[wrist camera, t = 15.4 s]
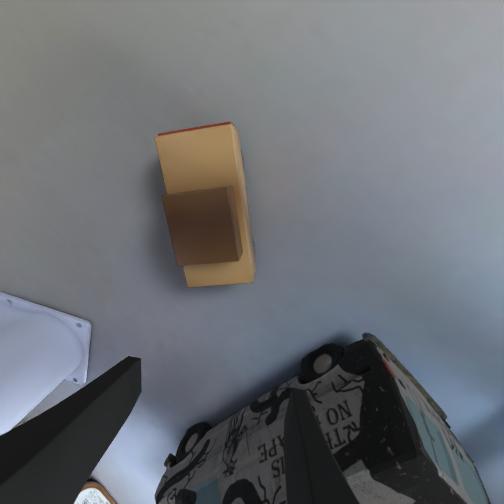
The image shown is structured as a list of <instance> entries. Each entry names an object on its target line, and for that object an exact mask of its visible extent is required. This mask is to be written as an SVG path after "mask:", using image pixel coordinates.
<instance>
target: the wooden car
mask: <svg viewBox="0 0 504 504" xmlns="http://www.w3.org/2000/svg"><path fill="white" fill-rule="evenodd" d="M155 142H156V147H157V151H158V156H159V160H160V165H161V169H162V174H163V178H164V183H165V187H166V192H167V194H166V195H162V201H163V205H164V210H165V214H166V218H167V223H168V227H169V231H170V236H171V240H172V245H173V249H174V253H175V258H176V262H177V266H183V268H184V273H185V277H186V282H187V286H188V287H201V286H216V285H230V284H244V283H253V281H254V277H255V273H256V262H255V249H254V242H253V238H252V232H251V224H250V216H249V209H248V201H247V193H246V186H245V178H244V164H243V156H242V151H241V147H240V140H239V132H238V130H237V129H236V128H235V127H234V125H233V124H232V123H231V122H225V123H219V124H213V125H207V126H201V127H195V128H189V129H183V130H178V131H172V132H166V133H160V134H158V136H156V137H155Z"/></svg>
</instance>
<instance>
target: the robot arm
mask: <svg viewBox="0 0 504 504" xmlns="http://www.w3.org/2000/svg"><path fill="white" fill-rule="evenodd" d="M90 337H91V323H90V322H89V321H87V320H84V319H81V318H78V317H75V316H72V315H69V314H66V313H63V312H60V311H57V310H54V309H51V308H48V307H45V306H42V305H39V304H36V303H33V302H30V301H27V300H24V299H21V298H18V297H15V296H12V295H9V294H6V293H2V292H1V293H0V504H74V503H75V501H76V499H77V497H78V495H79V494H80V492H81V490H82V488H83V486H84V485H85V483H86V481H87V480H88V478H89V476H90V475H91V473H92V471H93V470H94V468H95V467H96V465H97V464H98V462H99V461H100V459H101V458H102V456H103V455H104V453H105V452H106V450H107V449H108V447H109V446H110V444H111V442H112V441H113V439H114V438H115V436H116V435H117V433H118V432H119V430H120V429H121V427H122V426H123V424H124V423H125V421H126V419H127V418H128V416H129V415H130V413H131V411H132V409H133V407H134V405H135V403H136V401H137V399H138V397H139V395H140V393H141V358H136V357H131V356H128V357H127V358H125V359H124V360H122V361H121V362H119V363H118V364H116V365H115V366H114V367H112V368H111V369H109V370H108V371H106V372H105V373H104V374H102V375H101V376H99V377H98V378H96V379H95V380H93V381H92V382H90V383H89V384H87V385H86V386H85V387H83V388H82V389H80V390H79V391H77V392H76V393H74V394H72V395H71V396H69V397H68V398H66V399H64V400H63V401H61V402H60V403H58V404H57V405H55V406H53V407H52V408H50V409H48V410H47V411H45V412H43V413H41V414H40V415H38V416H36V417H34V418H33V419H31V420H29V421H27V422H25V423H24V424H22V425H20V426H18V427H16V428H14V429H12V428H13V427H14V426H15V425H16V424H18V423H19V422H20V421H21V420H22V419H23V418H24V417H25V416H26V415H27V414H28V413H29V412H30V411H31V410H32V409H33V408H35V407H36V406H37V405H38V404H39V403H40V402H41V401H42V400H43V399H44V398H45V397H46V396H47V395H48V394H49V393H50V392H52V391H53V390H54V389H55V388H56V387H57V386H58V385H59V384H60V383H61V382H62V381H63V380H67V381H70V382H73V383H76V384H79V385H83V384H84V383H85V382H86V379H87V368H88V358H89V347H90ZM11 429H12V430H11ZM283 448H284V465H285V481H286V496H287V504H360V503H359V501H358V500H357V498H356V496H355V494H354V493H353V491H352V489H351V487H350V486H349V484H348V482H347V480H346V479H345V477H344V475H343V473H342V471H341V469H340V467H339V465H338V463H337V461H336V459H335V457H334V455H333V453H332V451H331V449H330V447H329V445H328V443H327V441H326V439H325V436H324V434H323V432H322V430H321V427H320V425H319V423H318V420H317V418H316V415H315V413H314V410H313V408H312V405H311V403H310V400H309V397H308V394H307V392H306V391H305V390H302V389H297V388H292V389H291V393H290V397H289V402H288V406H287V410H286V415H285V419H284V446H283Z"/></svg>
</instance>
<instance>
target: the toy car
mask: <svg viewBox="0 0 504 504" xmlns="http://www.w3.org/2000/svg"><path fill="white" fill-rule="evenodd" d="M371 340H373V342H374V343H375V344H374V343H373V342H372V341H371ZM301 372H302V375H303V378H304V381H305V382H306V383H307V384H306V383H305V382H304V381H303V380H302V379H301V378H300V377H299V376H296V377H294V378H292V379H291V380H289V381H287V382H285V383H284V384H282V385H280V386H278V387H277V388H275V389H273V390H271V391H270V392H268V393H266V394H265V395H263V396H262V397H260V398H258V399H257V400H255V401H254V402H252V403H251V404H249V405H248V406H246V407H245V408H243V409H242V410H240V411H239V412H237V413H236V414H234V415H232V416H231V417H229V418H228V419H226V420H225V421H223V422H222V423H220V424H218V425H217V426H215V427H214V428H212V429H211V430H210V429H209V427H208V425H207V424H205V423H203V422H202V423H199V424H196V425H194V426H192V427H191V428H189V429H188V430H187V432H186V434H185V436H184V437H183V439H182V440H181V442H180V444H179V447H178V449H177V453H176V457H175V456H174V455H173V454H171V453H170V454H169V456H168V457H167V459H166V460H165V463H164V466H166V467H167V469H166V472H165V473H164V475H163V476H162V479H161V481H160V483H159V485H158V488H157V490H156V493H155V500H156V504H287V496H286V481H285V465H284V448H283V446H284V419H285V415H286V410H287V406H288V402H289V397H290V393H291V389H292V388H297V389H302V390H305V391H306V392H307V394H308V397H309V400H310V403H311V405H312V408H313V410H314V413H315V415H316V418H317V420H318V423H319V425H320V427H321V430H322V432H323V434H324V436H325V439H326V441H327V443H328V445H329V447H330V449H331V451H332V453H333V455H334V457H335V459H336V461H337V463H338V465H339V467H340V469H341V471H342V473H343V475H344V477H345V479H346V480H347V482H348V484H349V486H350V487H351V489H352V491H353V493H354V494H355V496H356V498H357V500H358V501H359V503H360V504H491V502H490V500H489V498H488V495H487V493H486V490H485V488H484V485H483V483H482V480H481V478H480V476H479V473H478V471H477V469H476V466H475V465H474V464H473V463H474V462H473V460H472V459H471V457H470V456H469V455H468V454H467V453H466V452H465V450H464V449H463V447H462V446H461V444H460V443H459V441H458V440H457V438H456V437H455V435H454V434H453V432H452V431H451V430H450V428H451V427H450V426H449V425H448V423H447V422H446V421H445V420H446V418H447V416H446V414H445V413H444V411H443V410H442V409H441V408H440V407H439V406H438V404H437V403H436V402H435V401H434V400H433V399H432V398H431V396H430V395H429V394H428V393H427V392H426V391H425V390H424V388H423V387H422V386H421V385H420V384H419V383H418V382H417V380H416V379H415V378H414V377H413V376H412V375H411V374H410V373H409V372H408V370H407V369H406V368H405V367H404V366H403V365H402V364H401V363H400V362H399V361H398V360H397V359H396V357H395V356H394V355H393V354H392V353H391V352H390V351H389V350H388V349H387V348H386V347H385V346H384V344H383V343H382V342H381V341H380V340H378V339H377V338H376V337H375V336H374V335H372V334H370V333H364V334H363V339H362V340H360V341H357V342H355V343H353V344H351V345H349V346H347V347H346V349H345V352H344V351H343V350H342V348H341V347H340V346H338V345H335V344H332V343H331V344H327V345H324V346H322V347H320V348H319V349H317V350H315V351H313V352H311V353H310V354H308V355H307V356H306V357H305V358H303V359H302V362H301Z"/></svg>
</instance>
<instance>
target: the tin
mask: <svg viewBox="0 0 504 504" xmlns="http://www.w3.org/2000/svg"><path fill="white" fill-rule="evenodd" d="M74 504H116V503H115V501H114V500H113V499H112V498H111V496H110V495H109V494H108V492H107V491H106V490H105V489H104V487H103V486H102V485H100V484H99V483H97V482H86V483H85V485H84V486H83V488H82V490H81V492H80V494H79V495H78V497H77V499H76V501H75V503H74Z"/></svg>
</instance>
